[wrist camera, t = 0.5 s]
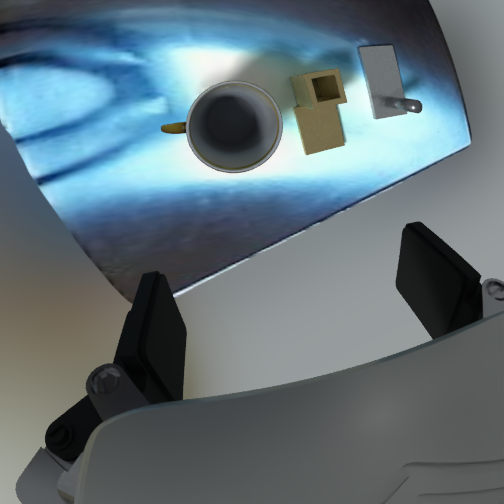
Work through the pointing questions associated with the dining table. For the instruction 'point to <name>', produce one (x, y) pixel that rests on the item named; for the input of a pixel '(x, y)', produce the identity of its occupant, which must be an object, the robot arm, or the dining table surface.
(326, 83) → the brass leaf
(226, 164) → the ceramic cup
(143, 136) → the dining table surface
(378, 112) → the steel leaf with pin
